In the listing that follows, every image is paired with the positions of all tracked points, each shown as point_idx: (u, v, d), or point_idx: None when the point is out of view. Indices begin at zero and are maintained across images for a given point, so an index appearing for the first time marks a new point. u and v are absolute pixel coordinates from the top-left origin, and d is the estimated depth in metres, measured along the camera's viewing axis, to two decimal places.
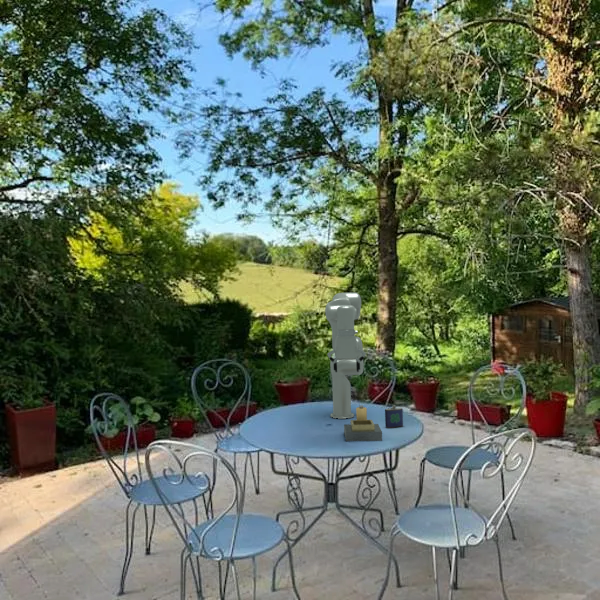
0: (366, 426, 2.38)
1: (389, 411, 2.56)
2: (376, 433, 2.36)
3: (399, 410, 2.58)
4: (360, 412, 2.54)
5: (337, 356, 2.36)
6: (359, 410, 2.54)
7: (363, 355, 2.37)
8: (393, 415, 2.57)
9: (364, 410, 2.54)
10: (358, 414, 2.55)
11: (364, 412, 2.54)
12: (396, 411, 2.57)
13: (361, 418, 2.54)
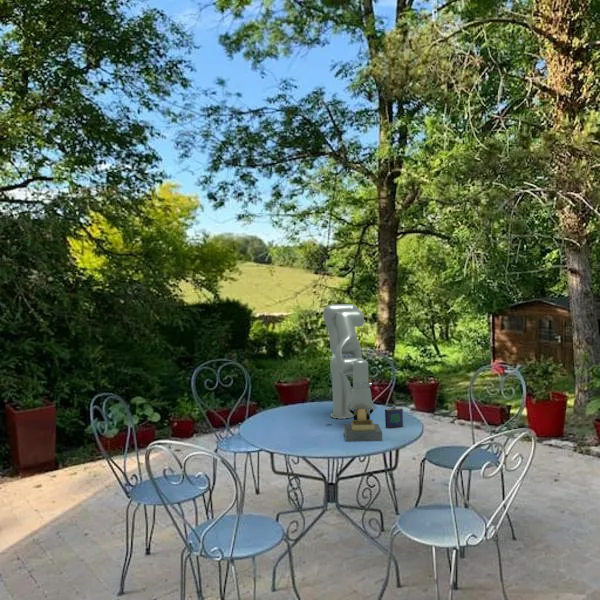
0: (366, 426, 2.38)
1: (389, 411, 2.56)
2: (376, 433, 2.36)
3: (399, 410, 2.58)
4: (360, 412, 2.54)
5: (353, 407, 2.55)
6: (359, 410, 2.54)
7: (373, 409, 2.56)
8: (393, 415, 2.57)
9: (364, 410, 2.54)
10: (358, 414, 2.55)
11: (364, 412, 2.54)
12: (396, 411, 2.57)
13: (361, 418, 2.54)
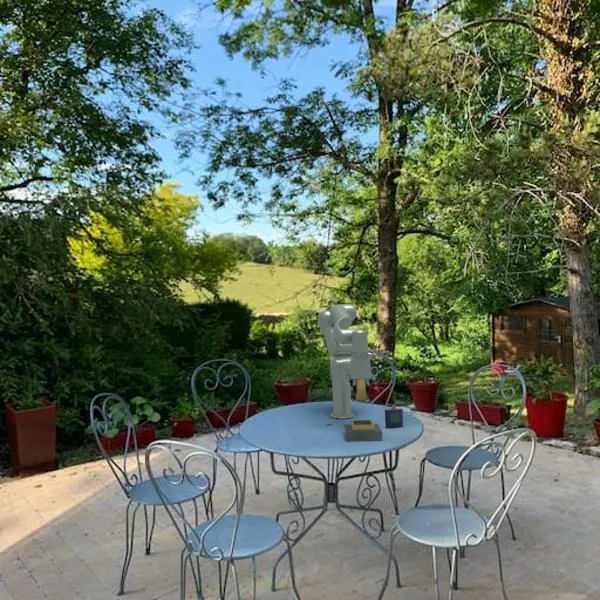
0: (366, 426, 2.38)
1: (389, 411, 2.56)
2: (376, 433, 2.36)
3: (399, 410, 2.58)
4: (359, 382, 2.54)
5: (352, 377, 2.54)
6: (358, 380, 2.54)
7: (373, 379, 2.55)
8: (393, 415, 2.57)
9: (363, 380, 2.54)
10: (357, 384, 2.54)
11: (363, 382, 2.54)
12: (396, 411, 2.57)
13: (360, 388, 2.54)
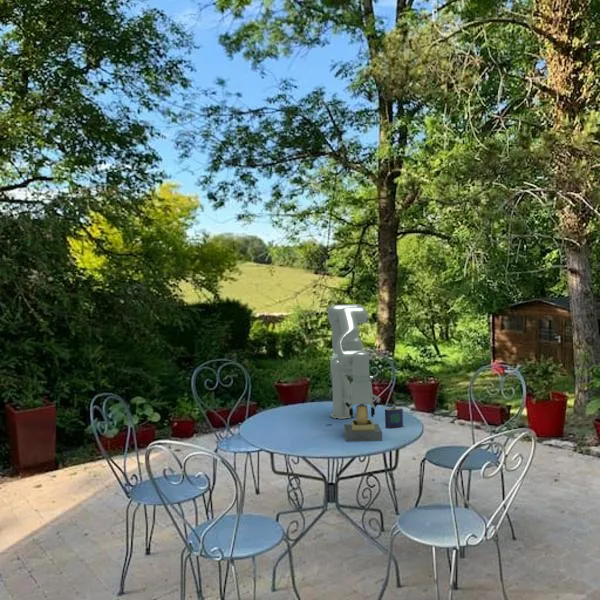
0: (366, 426, 2.38)
1: (389, 411, 2.56)
2: (376, 433, 2.36)
3: (399, 410, 2.58)
4: (360, 410, 2.40)
5: (353, 401, 2.41)
6: (359, 408, 2.41)
7: (378, 401, 2.42)
8: (393, 415, 2.57)
9: (365, 408, 2.41)
10: (358, 412, 2.41)
11: (365, 410, 2.41)
12: (396, 411, 2.57)
13: (362, 416, 2.40)
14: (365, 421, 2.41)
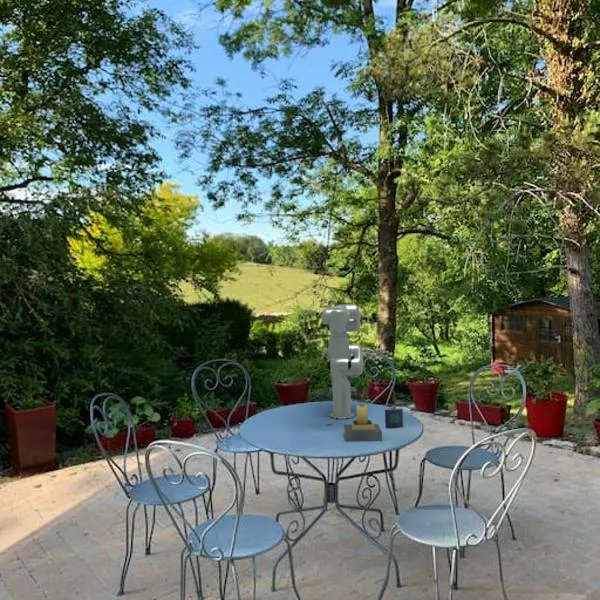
0: (366, 426, 2.38)
1: (389, 411, 2.56)
2: (376, 433, 2.36)
3: (399, 410, 2.58)
4: (360, 410, 2.40)
5: (330, 355, 2.59)
6: (359, 408, 2.40)
7: (354, 354, 2.60)
8: (393, 415, 2.57)
9: (365, 408, 2.40)
10: (358, 412, 2.41)
11: (365, 410, 2.40)
12: (396, 411, 2.57)
13: (362, 416, 2.40)
14: (365, 421, 2.41)
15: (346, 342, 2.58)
